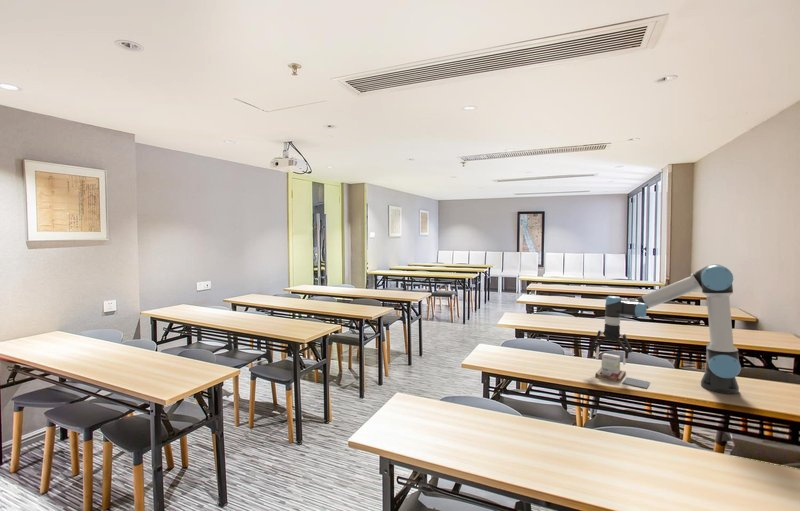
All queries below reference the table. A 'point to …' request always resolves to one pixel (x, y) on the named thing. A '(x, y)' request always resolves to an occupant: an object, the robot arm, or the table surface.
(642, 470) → the table surface
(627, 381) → the pad
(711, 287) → the robot arm
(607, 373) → the ink box
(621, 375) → the frame
